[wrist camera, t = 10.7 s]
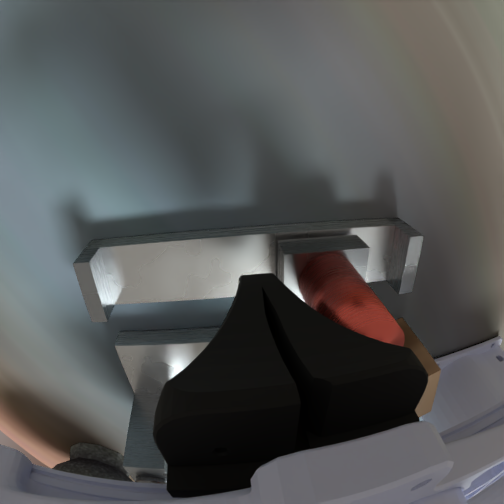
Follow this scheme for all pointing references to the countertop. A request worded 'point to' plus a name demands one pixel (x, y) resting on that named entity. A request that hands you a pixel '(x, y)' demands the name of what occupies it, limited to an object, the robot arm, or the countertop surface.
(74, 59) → the countertop surface
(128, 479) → the mortar and pestle
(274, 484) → the robot arm
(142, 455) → the press
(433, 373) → the block
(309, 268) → the lever
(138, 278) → the rail
